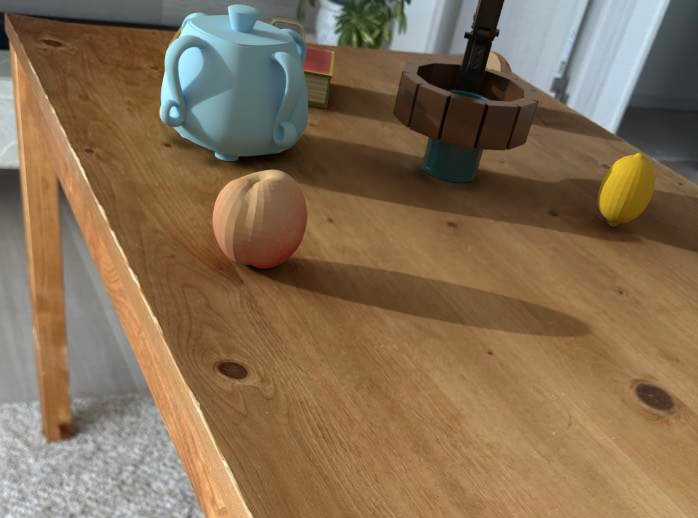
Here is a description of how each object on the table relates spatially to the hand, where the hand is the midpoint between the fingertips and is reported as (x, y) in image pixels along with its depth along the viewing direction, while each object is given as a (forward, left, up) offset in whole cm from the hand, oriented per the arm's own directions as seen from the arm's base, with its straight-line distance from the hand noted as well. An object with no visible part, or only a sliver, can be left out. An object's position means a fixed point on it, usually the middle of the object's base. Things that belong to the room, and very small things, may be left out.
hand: (464, 98), depth 104 cm
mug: (-4, -24, -6) cm, 25 cm away
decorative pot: (+25, +13, -6) cm, 29 cm away
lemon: (-19, +13, -6) cm, 24 cm away
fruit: (+16, +41, -6) cm, 44 cm away
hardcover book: (+28, -11, -6) cm, 31 cm away
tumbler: (0, +7, -6) cm, 9 cm away
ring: (0, +7, -1) cm, 7 cm away
